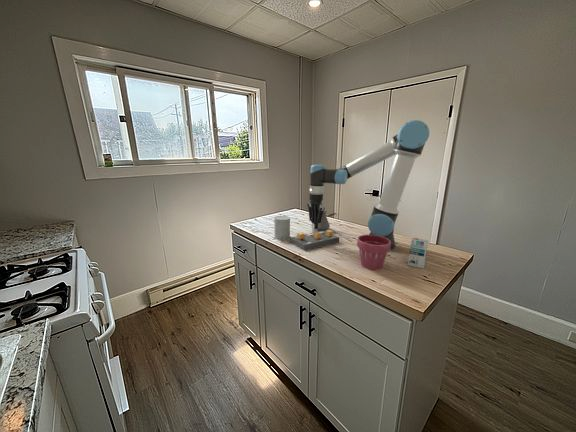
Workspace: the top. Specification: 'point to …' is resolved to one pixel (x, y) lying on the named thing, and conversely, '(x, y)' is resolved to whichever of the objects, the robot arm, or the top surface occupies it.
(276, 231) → the grey cylinder
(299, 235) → the switch
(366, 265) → the plant pot
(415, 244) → the light bulb box
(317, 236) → the switch
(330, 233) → the switch
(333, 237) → the grey flat tray
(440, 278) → the top surface
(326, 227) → the coffee pot
